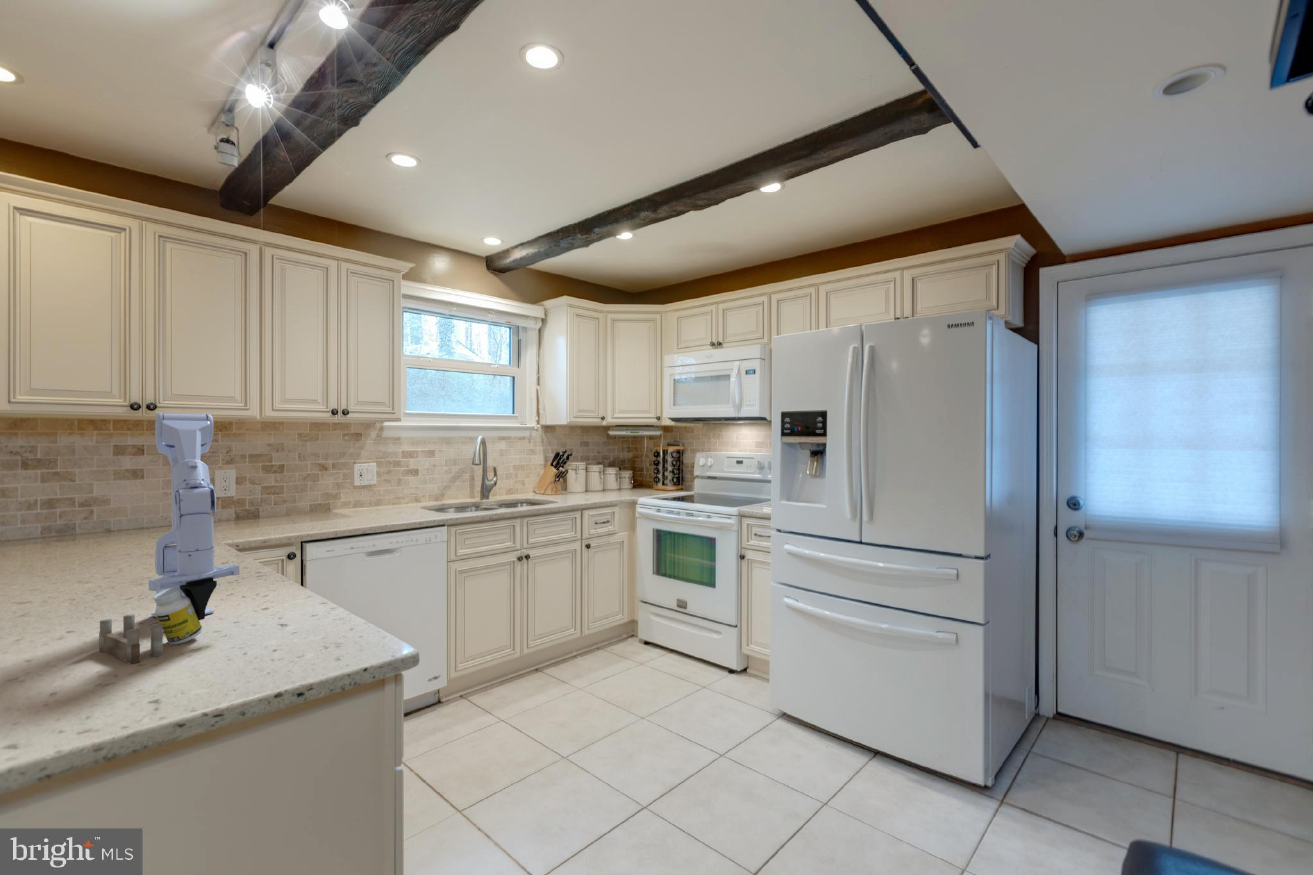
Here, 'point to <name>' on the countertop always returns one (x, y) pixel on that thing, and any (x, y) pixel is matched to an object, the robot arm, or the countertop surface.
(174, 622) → the supplement bottle
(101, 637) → the pin seat
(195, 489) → the robot arm
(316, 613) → the countertop surface
